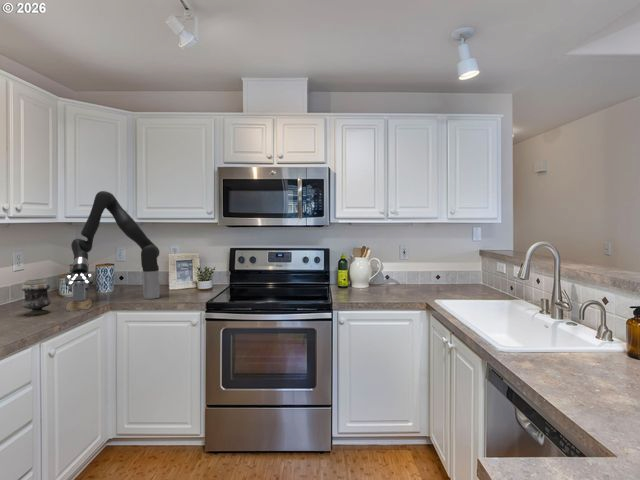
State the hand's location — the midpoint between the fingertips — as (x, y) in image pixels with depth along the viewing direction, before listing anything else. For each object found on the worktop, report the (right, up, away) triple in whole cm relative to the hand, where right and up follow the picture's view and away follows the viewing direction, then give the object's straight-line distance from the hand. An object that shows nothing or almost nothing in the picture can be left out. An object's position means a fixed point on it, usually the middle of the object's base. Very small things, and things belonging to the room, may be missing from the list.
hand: (78, 290), depth 201 cm
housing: (-1, -6, +2) cm, 7 cm away
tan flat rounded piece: (-1, -10, +2) cm, 11 cm away
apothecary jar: (-15, -11, -10) cm, 21 cm away
